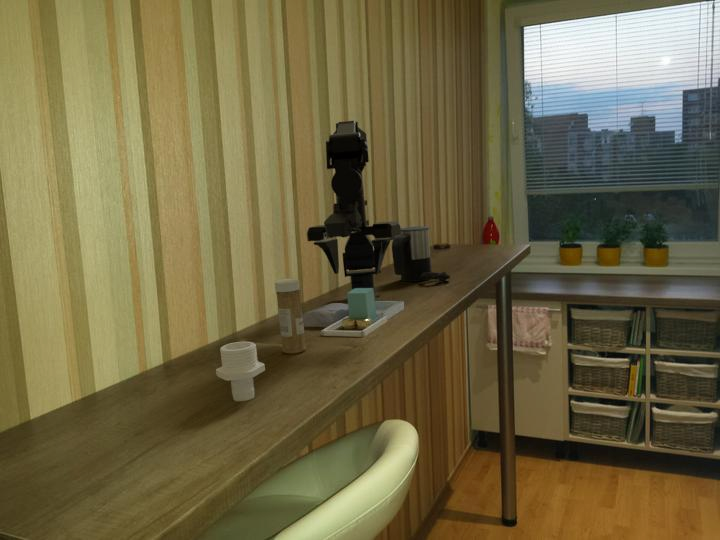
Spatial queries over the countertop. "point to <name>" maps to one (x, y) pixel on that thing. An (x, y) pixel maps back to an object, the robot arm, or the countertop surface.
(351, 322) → the chip
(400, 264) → the milk frother
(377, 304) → the channel
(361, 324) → the chip
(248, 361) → the pipe fitting
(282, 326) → the sprinkles bottle
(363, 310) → the mint green brick
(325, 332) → the chip tray
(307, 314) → the stone block
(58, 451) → the countertop surface
